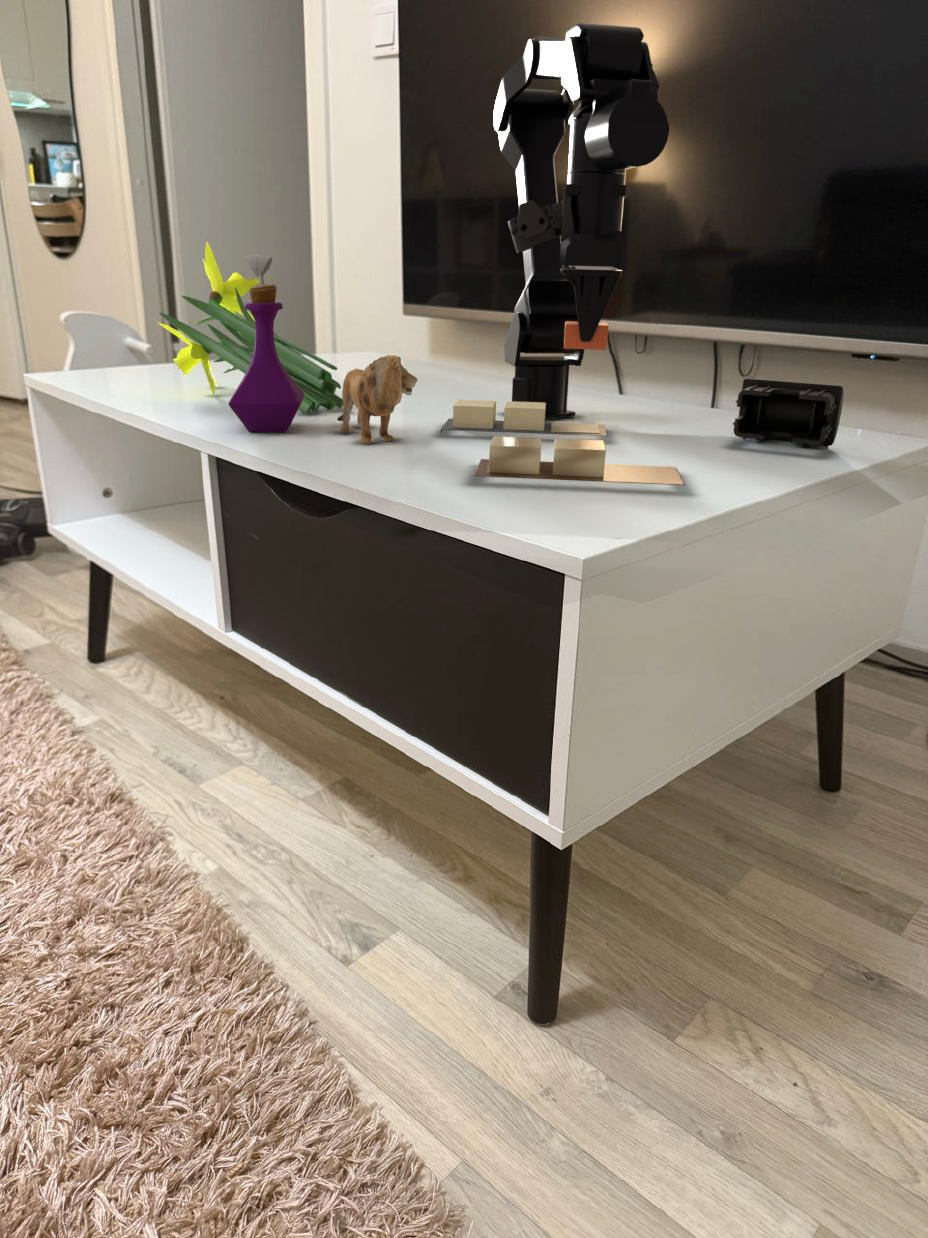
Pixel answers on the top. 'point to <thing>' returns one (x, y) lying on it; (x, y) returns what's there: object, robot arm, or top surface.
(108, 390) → the top surface
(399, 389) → the lion figurine
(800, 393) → the end cap
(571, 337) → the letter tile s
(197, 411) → the top surface
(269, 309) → the perfume bottle
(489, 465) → the word board
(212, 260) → the daffodil flowers
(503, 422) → the word board
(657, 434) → the top surface
